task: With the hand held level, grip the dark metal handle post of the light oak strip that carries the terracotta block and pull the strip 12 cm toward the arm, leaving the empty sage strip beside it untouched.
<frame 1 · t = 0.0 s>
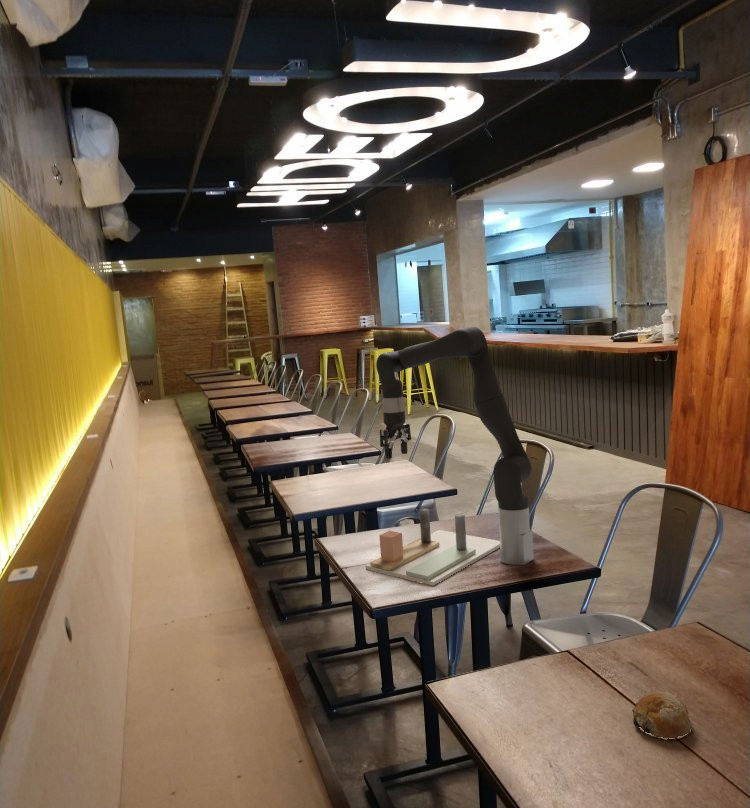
hand: (396, 456, 246), 29 cm above the table, tool pointing down, fingers open, 8 cm apart
bread roll: (661, 727, 132), on the table
oak strip: (405, 537, 226), point 7 cm above the table, slide at 0.0 cm, touching terracotta block
lane board: (436, 556, 228), on the table
sage strip: (441, 544, 217), point 7 cm above the table, slide at 0.0 cm
terracotta block: (392, 558, 222), point 3 cm above the table, touching oak strip
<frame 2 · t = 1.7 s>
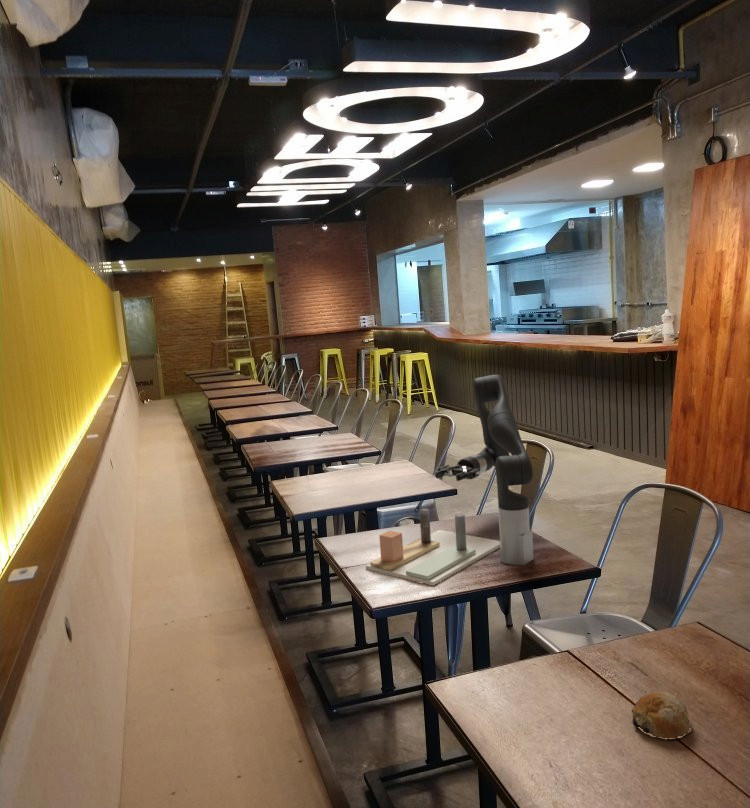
hand: (446, 476, 243), 22 cm above the table, tool horizontal, fingers open, 8 cm apart
nothing on the table moved.
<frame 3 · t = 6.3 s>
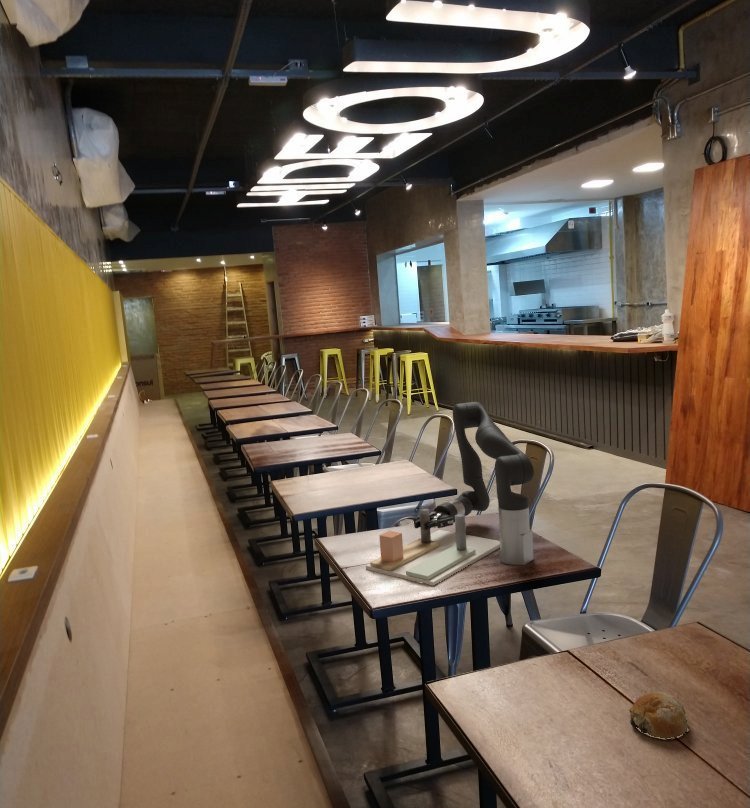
hand: (420, 526, 232), 9 cm above the table, tool horizontal, fingers closed on oak strip, 3 cm apart
oak strip: (405, 537, 226), point 7 cm above the table, slide at 0.0 cm, touching gripper, terracotta block
everything else where it was.
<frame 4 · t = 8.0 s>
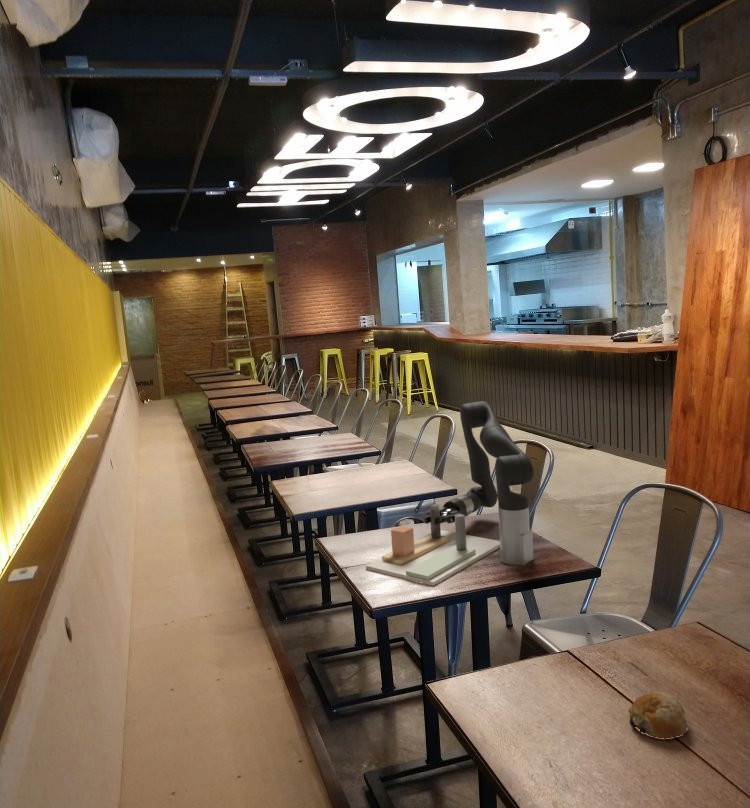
hand: (430, 521, 237), 9 cm above the table, tool horizontal, fingers closed on oak strip, 3 cm apart
oak strip: (415, 532, 231), point 7 cm above the table, slide at 5.8 cm, touching gripper, terracotta block
terracotta block: (403, 553, 226), point 3 cm above the table, touching oak strip
everything else where it was.
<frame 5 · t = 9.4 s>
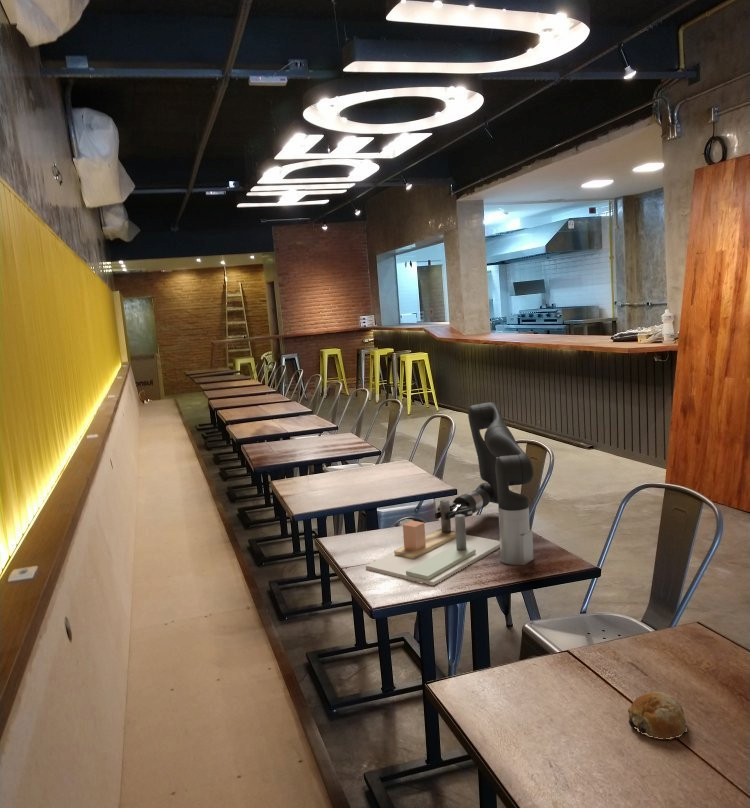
hand: (440, 516, 241), 9 cm above the table, tool horizontal, fingers closed on oak strip, 3 cm apart
oak strip: (426, 527, 235), point 7 cm above the table, slide at 11.9 cm, touching gripper, terracotta block
terracotta block: (415, 547, 231), point 3 cm above the table, touching oak strip
everything else where it was.
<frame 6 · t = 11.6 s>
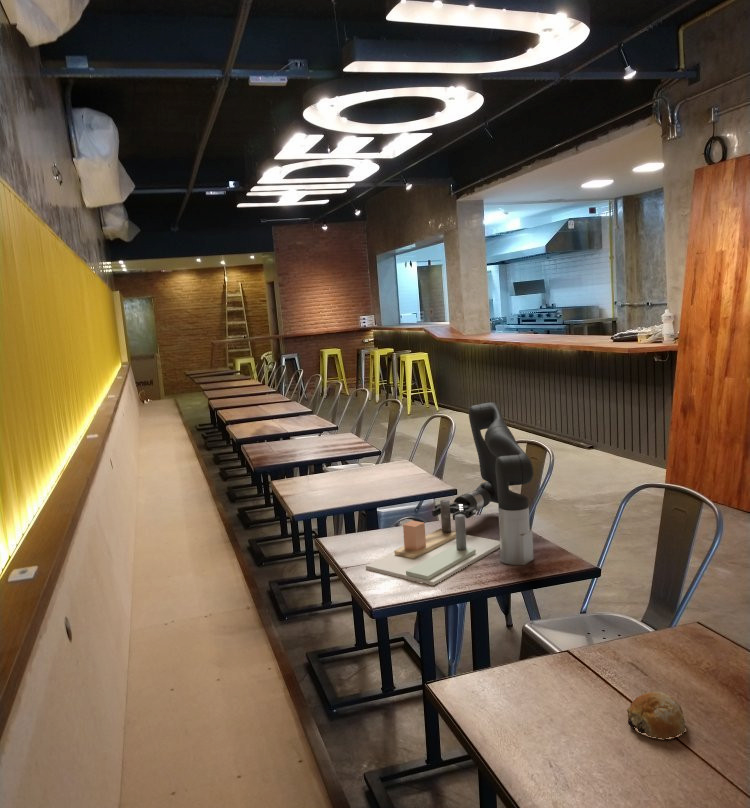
hand: (443, 515, 242), 9 cm above the table, tool horizontal, fingers open, 8 cm apart
oak strip: (427, 526, 235), point 7 cm above the table, slide at 12.0 cm, touching terracotta block
everything else where it was.
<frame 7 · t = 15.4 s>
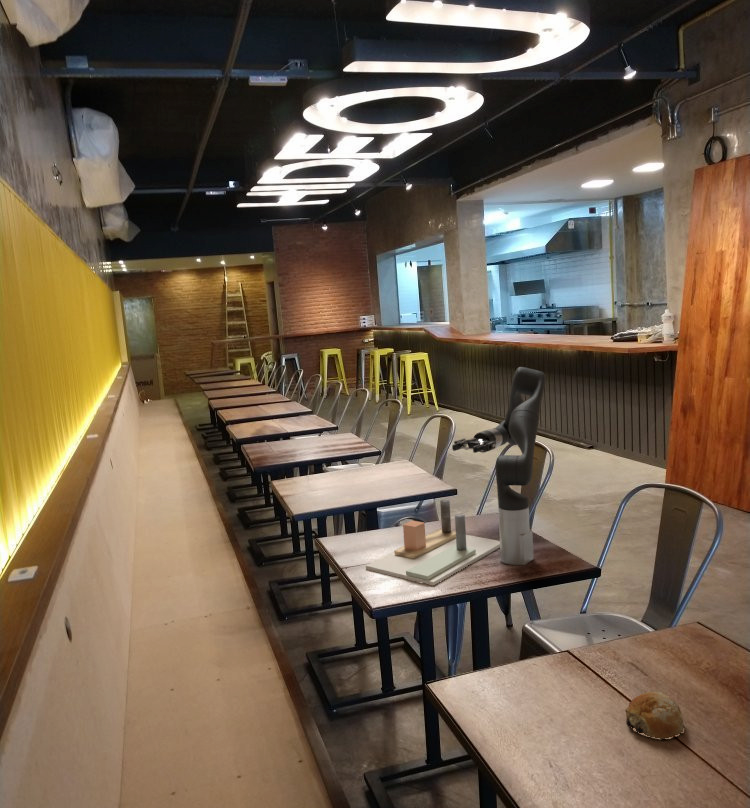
hand: (463, 448, 247), 30 cm above the table, tool horizontal, fingers open, 8 cm apart
at the end: oak strip slide at 12.0 cm; terracotta block inside the target area (1.0 cm from its centre), point 2.6 cm above the table; sage strip slide at 0.0 cm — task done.
